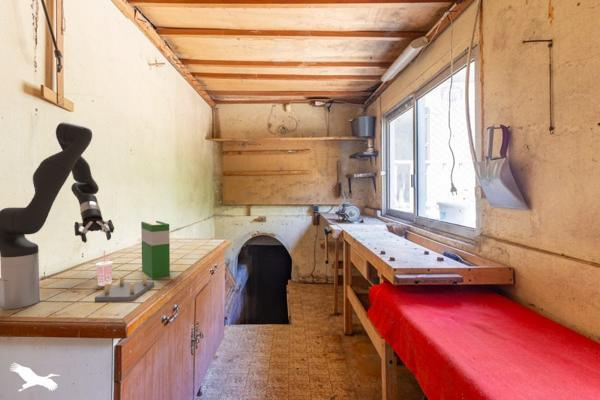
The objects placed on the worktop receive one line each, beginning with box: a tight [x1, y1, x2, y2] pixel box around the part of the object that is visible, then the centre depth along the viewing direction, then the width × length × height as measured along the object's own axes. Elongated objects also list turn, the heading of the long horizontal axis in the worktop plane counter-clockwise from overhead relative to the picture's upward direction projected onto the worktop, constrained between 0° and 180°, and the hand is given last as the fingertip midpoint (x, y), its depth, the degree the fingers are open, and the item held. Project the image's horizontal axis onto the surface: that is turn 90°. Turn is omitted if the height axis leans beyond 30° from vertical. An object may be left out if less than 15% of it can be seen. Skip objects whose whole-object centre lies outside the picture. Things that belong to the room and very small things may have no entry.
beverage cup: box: [95, 250, 114, 287], centre depth 116 cm, size 6×6×14 cm
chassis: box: [94, 275, 155, 302], centre depth 106 cm, size 16×13×5 cm
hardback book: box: [140, 220, 171, 280], centre depth 131 cm, size 18×7×24 cm, turn 43°
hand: (97, 240), depth 123 cm, fingers open, 8 cm apart
